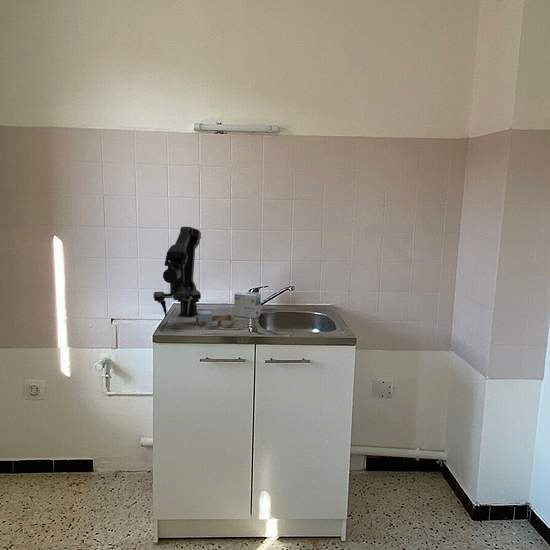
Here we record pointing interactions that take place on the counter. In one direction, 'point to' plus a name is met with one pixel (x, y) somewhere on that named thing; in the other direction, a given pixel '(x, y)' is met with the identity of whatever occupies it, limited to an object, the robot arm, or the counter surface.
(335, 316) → the counter surface
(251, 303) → the light bulb box
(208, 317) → the slate block
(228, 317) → the trap lane
